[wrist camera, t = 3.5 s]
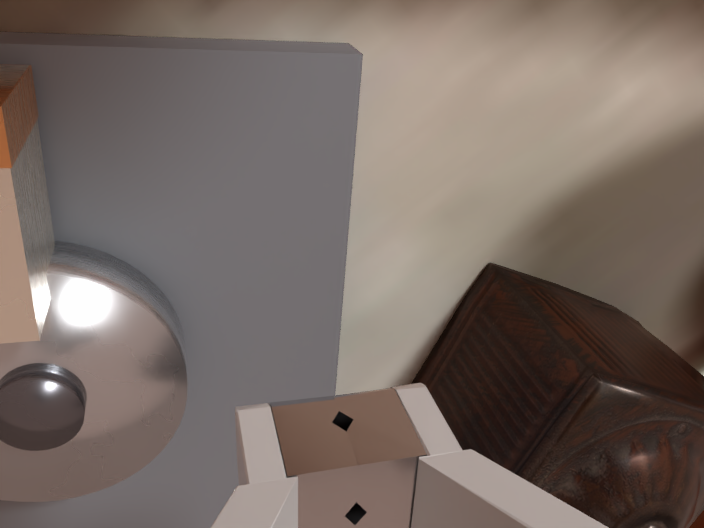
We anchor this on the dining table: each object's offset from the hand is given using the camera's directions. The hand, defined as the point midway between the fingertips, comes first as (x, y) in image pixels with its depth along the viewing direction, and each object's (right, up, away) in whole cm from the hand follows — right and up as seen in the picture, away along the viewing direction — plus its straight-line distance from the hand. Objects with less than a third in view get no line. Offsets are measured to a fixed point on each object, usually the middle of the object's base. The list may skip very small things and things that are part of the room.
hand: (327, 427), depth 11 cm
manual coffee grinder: (+11, -4, +26) cm, 29 cm away
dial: (-11, +2, +14) cm, 17 cm away
